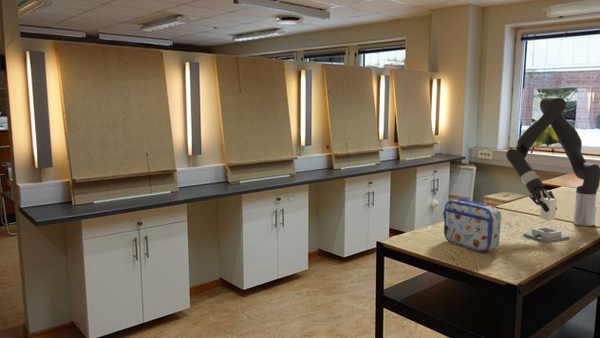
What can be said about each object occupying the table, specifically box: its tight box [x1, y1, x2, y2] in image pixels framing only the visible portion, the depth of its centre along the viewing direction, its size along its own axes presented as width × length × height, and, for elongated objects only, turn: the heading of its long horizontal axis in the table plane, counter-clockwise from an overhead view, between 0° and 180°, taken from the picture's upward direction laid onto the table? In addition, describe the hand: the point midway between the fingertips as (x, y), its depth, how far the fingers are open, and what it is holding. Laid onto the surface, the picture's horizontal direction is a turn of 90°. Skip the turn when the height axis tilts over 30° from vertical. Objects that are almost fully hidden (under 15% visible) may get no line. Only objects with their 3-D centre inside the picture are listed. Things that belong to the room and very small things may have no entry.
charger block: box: [539, 196, 557, 221], centre depth 223 cm, size 5×5×11 cm
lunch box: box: [442, 196, 502, 252], centre depth 211 cm, size 28×10×22 cm, turn 32°
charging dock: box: [522, 226, 571, 244], centre depth 225 cm, size 16×13×4 cm
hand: (551, 210), depth 221 cm, fingers closed on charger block, 4 cm apart
